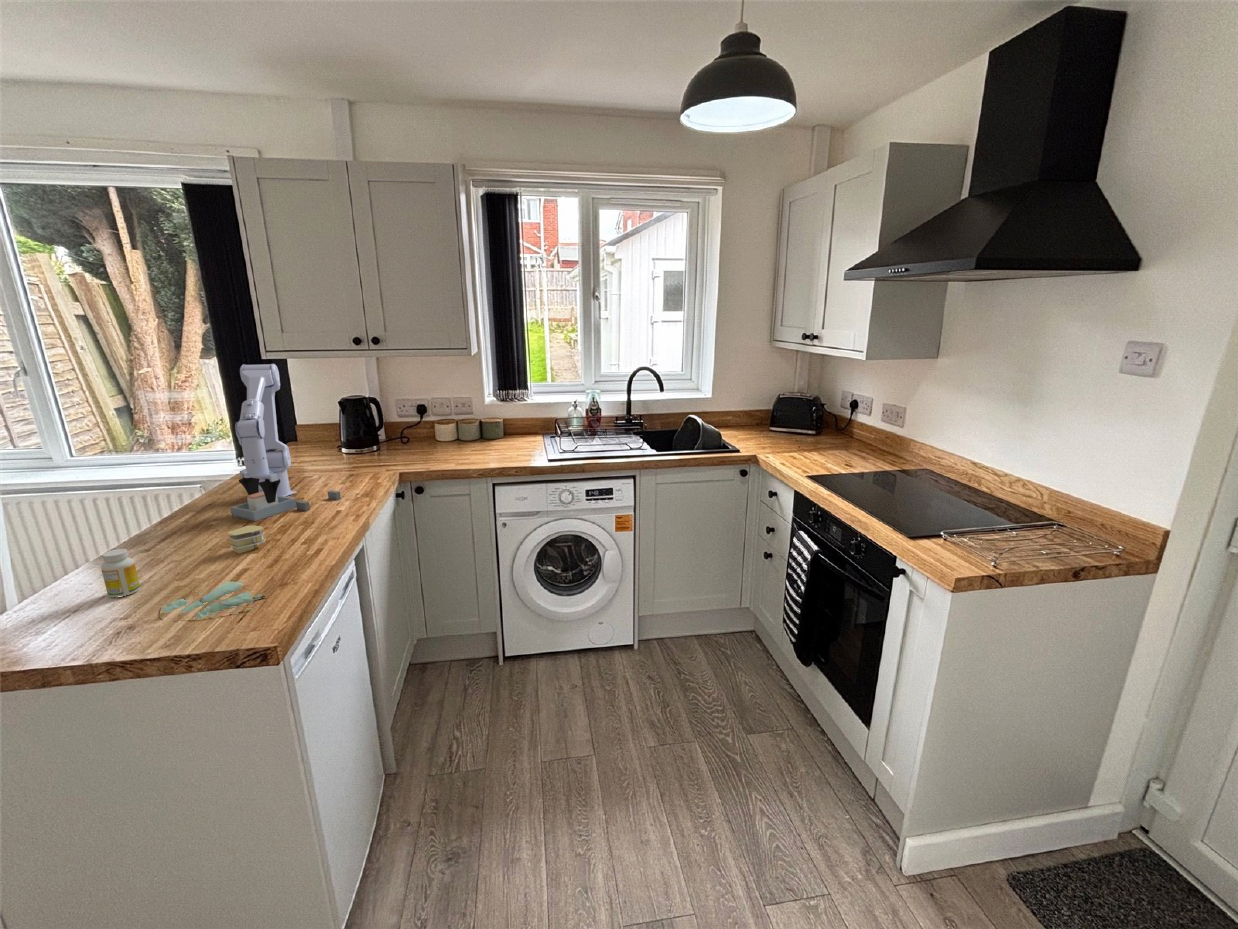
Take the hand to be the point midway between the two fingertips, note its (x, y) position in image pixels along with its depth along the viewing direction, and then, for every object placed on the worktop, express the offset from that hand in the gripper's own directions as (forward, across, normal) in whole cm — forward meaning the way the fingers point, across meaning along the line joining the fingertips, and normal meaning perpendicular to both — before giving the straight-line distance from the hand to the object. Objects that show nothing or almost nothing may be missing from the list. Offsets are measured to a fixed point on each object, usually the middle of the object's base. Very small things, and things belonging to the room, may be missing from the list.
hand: (263, 500), depth 169 cm
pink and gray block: (+3, 0, 0) cm, 3 cm away
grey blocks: (+4, +9, +12) cm, 15 cm away
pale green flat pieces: (+4, +46, -41) cm, 62 cm away
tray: (+4, 0, 0) cm, 4 cm away
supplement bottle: (+4, +22, -47) cm, 52 cm away
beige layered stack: (+4, +23, -20) cm, 31 cm away
